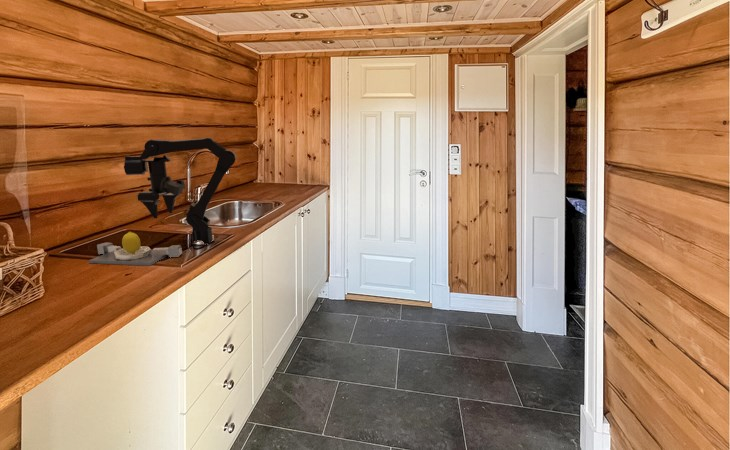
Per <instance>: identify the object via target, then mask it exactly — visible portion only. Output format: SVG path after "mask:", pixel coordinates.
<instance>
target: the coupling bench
mask: <svg viewBox="0 0 730 450" xmlns="http://www.w3.org/2000/svg"><path fill="white" fill-rule="evenodd" d="M181 245H182V244H177V245H176V244H174V245H170V246H168V247H154V248H153V249H151V248H150V247H149V246H148V245H147V246H141V245H140V248H139V250H138V251H136V252H135V253H134V254H131V253H129V252H127V251H125V250H124V248H123V247H122V246H119V245H118V246H117V245H114V244H113V243H112V242H103V243H98V244H96V248H97V254H98V256H96V257H93V258H91V259H89V260H88V263H89V264H98V265H99V264H100V265H118V266H119V265H122V266H147V267H150V266H152V265H154V264H156V263H158V262H160V261H162V260H164V259H166V258H167V256H168V258H169V257H170V258H169V259H172V258H171V257H179V256H180V255H181V254H182V255H183V250H182V249H183V248H182V246H181ZM100 254H103V255H100ZM182 255H181V256H182ZM181 256H180V257H181ZM180 257H179V258H180ZM161 259H162V260H161ZM159 260H160V261H159ZM157 261H158V262H157ZM155 262H156V263H155Z"/></svg>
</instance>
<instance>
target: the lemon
mask: <svg viewBox="0 0 730 450" xmlns="http://www.w3.org/2000/svg"><path fill="white" fill-rule="evenodd" d="M140 246H141V239H140V237H139V236H138V234H136V233H135V232H132V231H128V232H127V233H126V234H124V235H123V237H122V239H121V247H122V248H124V250H125V251H127V252H129V253H131V254H134V253H135V252H136V251H138V250H139V248H140Z"/></svg>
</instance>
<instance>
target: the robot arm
mask: <svg viewBox="0 0 730 450" xmlns="http://www.w3.org/2000/svg"><path fill="white" fill-rule="evenodd" d="M143 148H144V150H143V151H142V153H140V156H138V155H136V156H131V155H125V156H124V164H123V165H124V166H123V169H124V173H125V175H126V176H140V175H141V176H143V175H146V173H147V172H148V173H149V177H146V179H147V181H150V188H148V191H140V192H138V193H137V195H136V198H137V202H140V203H142V204H143V205H144V206H145V207H146V209H147V210H148V211H149V213H150V214H151V216H152V217H153V218H154V219H158V204H159V203H160V201H161V200H160V197H161V196H162V198H163V201H164V204H165V206H166V208H167V212H168V213H169V214H173V210H174V208H175V203H176V199H177V198H178V197H179V196H180V195H181V194H183V191H184V189H186V184H185V181H184V180H183V179H178V180H174V181H173V180H172V179H171V177H170V175H169V176H168V172H167V163H166V162H168V163H170V162H171V161H172V159H171V158H169V157H168V155H167V154H168V153H171V152H180V151H190V150H201V149H207V150H208V151H209V152H210V153H212V154H213V155H214V156H215V157H216V158H218V160H217V164H216V166H215V169H214V171H213V174H212V176H211V178H210V179H209V181H208V183H207V185H206V186H205V188H204V190H203V192H202V194H201V196H200V198H199V199H198V201H197V202H196V203H195V202H192V203H191V204H190V205H189V209H188V210H187V211H186V213H185V215H186V216H185V221H186V224H188V225H189V226H191V228H192V232H191V238H192V243H191V246H194V245H193V243H194V241H197V240H202V241H203V242H204V243H210V242H211V241H212V240H214V242H216V241H215V239H213V232H212V231H213V230H212V227H210V225H211V224H210V223H211V219H210V218H208V217H207V216H206V212H207V208H208V205H209V204H210V202H211V199H212V198H213V196H214V194H215V193H216V190H217V189H218V187H219V185H220V184H221V181H222V180H223V178H224V176H225V175H226V174H227V172H228V171H229V170H230V169H231V168H232V166H233V165H234V164H235V163H236V159H237V155H236V153H235V152H234V151H233V150H231V149H226V148H225V147H224V146H222V145H221V144H219V143H218V142H217V141H215V139H213V138H212V137H205V138H195V139H194V138H193V139H182V140H167V139H149V140H147V141H146V142H145V144H144V147H143ZM161 155H163V156H161ZM152 157H154V158H153V159H151V158H152ZM148 159H149V160H148ZM206 246H208V245H207V244H206Z"/></svg>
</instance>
